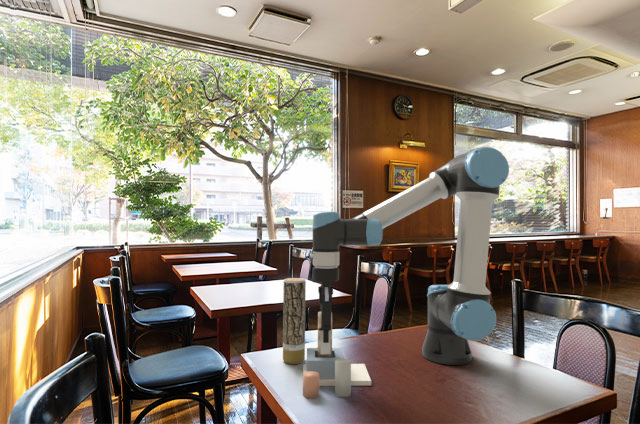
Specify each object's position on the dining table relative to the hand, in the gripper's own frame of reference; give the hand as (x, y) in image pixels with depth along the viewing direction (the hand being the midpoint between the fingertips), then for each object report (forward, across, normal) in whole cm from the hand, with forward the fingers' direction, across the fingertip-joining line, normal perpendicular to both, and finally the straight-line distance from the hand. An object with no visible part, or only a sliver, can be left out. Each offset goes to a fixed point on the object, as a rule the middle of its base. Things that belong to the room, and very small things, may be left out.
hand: (325, 350), depth 105 cm
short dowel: (+7, +11, -4) cm, 14 cm away
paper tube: (+7, -12, -9) cm, 17 cm away
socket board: (+7, 0, +3) cm, 8 cm away
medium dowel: (+7, +10, +4) cm, 13 cm away
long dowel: (+4, 0, 0) cm, 4 cm away
